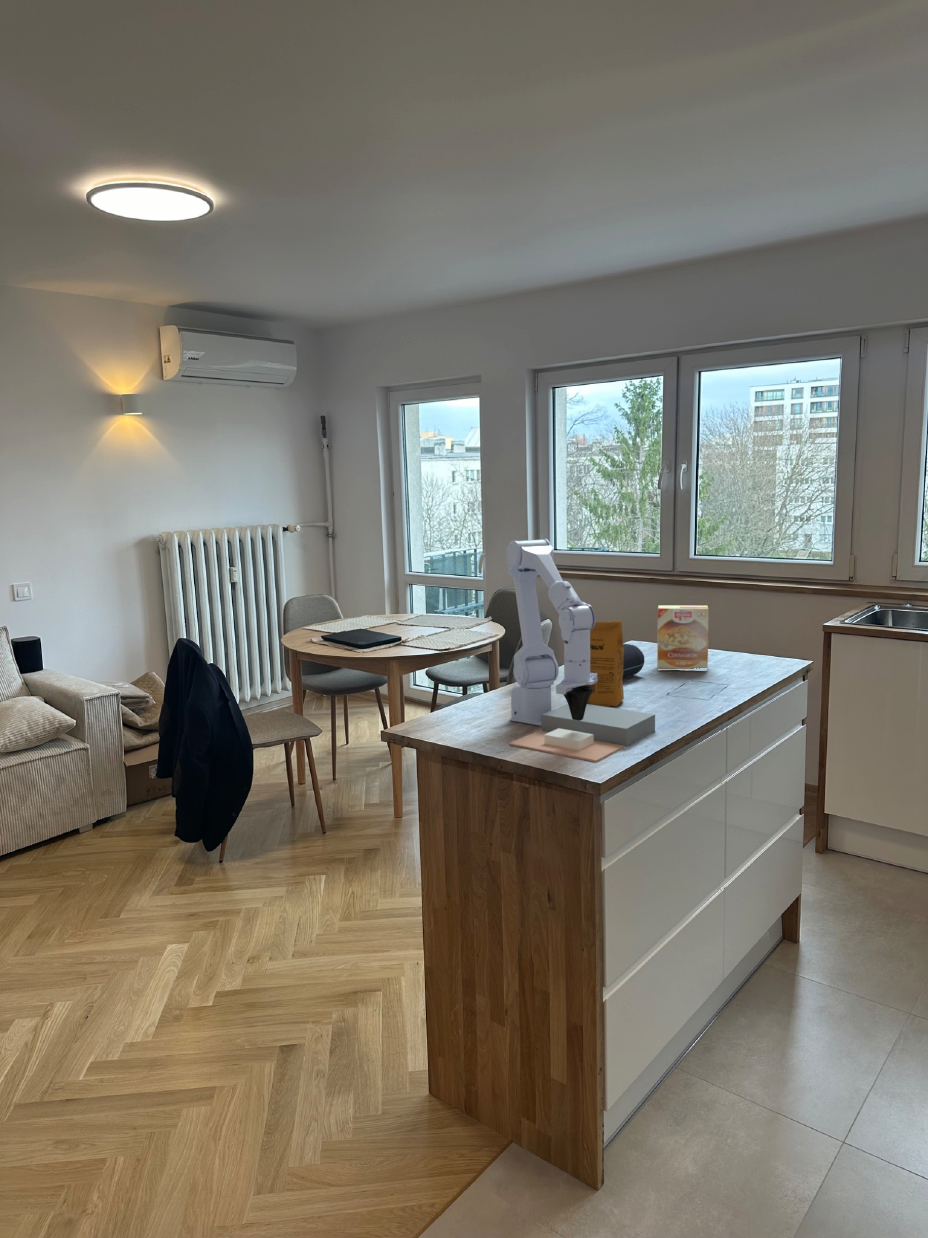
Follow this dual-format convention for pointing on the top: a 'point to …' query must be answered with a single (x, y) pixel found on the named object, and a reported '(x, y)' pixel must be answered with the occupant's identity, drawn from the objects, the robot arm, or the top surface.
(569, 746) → the cream rectangular block
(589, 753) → the mat
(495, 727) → the top surface
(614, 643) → the coffee package
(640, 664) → the portable speaker
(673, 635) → the coffeecake box
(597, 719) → the grey flat block
